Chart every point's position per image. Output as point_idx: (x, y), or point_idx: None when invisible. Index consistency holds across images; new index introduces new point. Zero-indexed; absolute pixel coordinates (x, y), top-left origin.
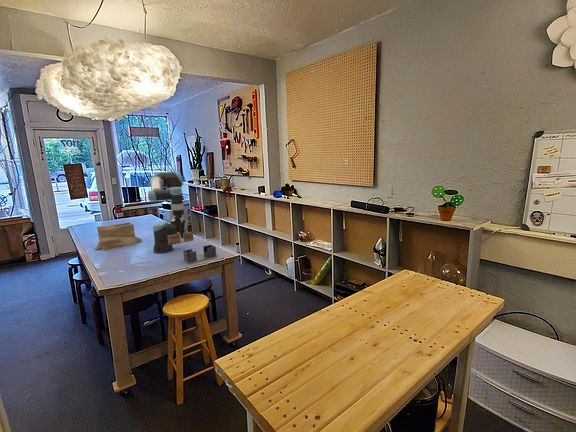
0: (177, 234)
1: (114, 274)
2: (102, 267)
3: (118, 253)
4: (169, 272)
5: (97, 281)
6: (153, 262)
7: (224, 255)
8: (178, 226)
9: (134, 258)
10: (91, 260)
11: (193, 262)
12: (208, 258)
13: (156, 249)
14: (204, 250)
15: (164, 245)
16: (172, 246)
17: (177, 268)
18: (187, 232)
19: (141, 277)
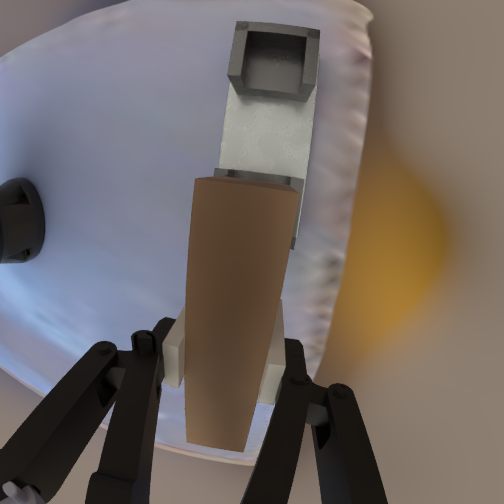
0: (211, 387)
1: (174, 431)
2: None
3: (5, 329)
4: (316, 345)
5: (200, 457)
6: (131, 326)
7: (325, 25)
8: (149, 441)
9: (54, 335)
10: (35, 388)
11: (301, 205)
12: (314, 108)
13: (23, 260)
14: (244, 82)
15: (17, 234)
16: (19, 184)
17: (302, 303)
18: (211, 253)
19: (270, 413)
